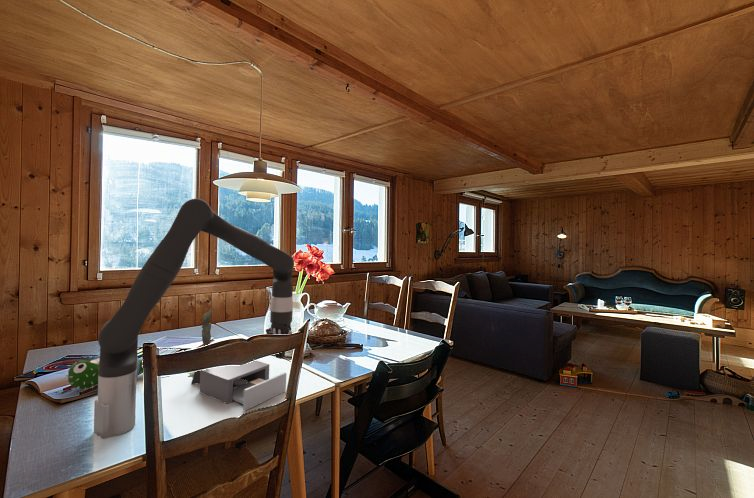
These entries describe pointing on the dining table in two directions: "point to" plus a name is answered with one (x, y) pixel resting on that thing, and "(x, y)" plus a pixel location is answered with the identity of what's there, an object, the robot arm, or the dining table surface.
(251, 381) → the walnut block
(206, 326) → the statue
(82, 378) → the toy
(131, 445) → the dining table surface
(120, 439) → the dining table surface
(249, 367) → the grey drawer cabinet
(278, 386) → the grey drawer
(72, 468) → the dining table surface
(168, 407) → the dining table surface
